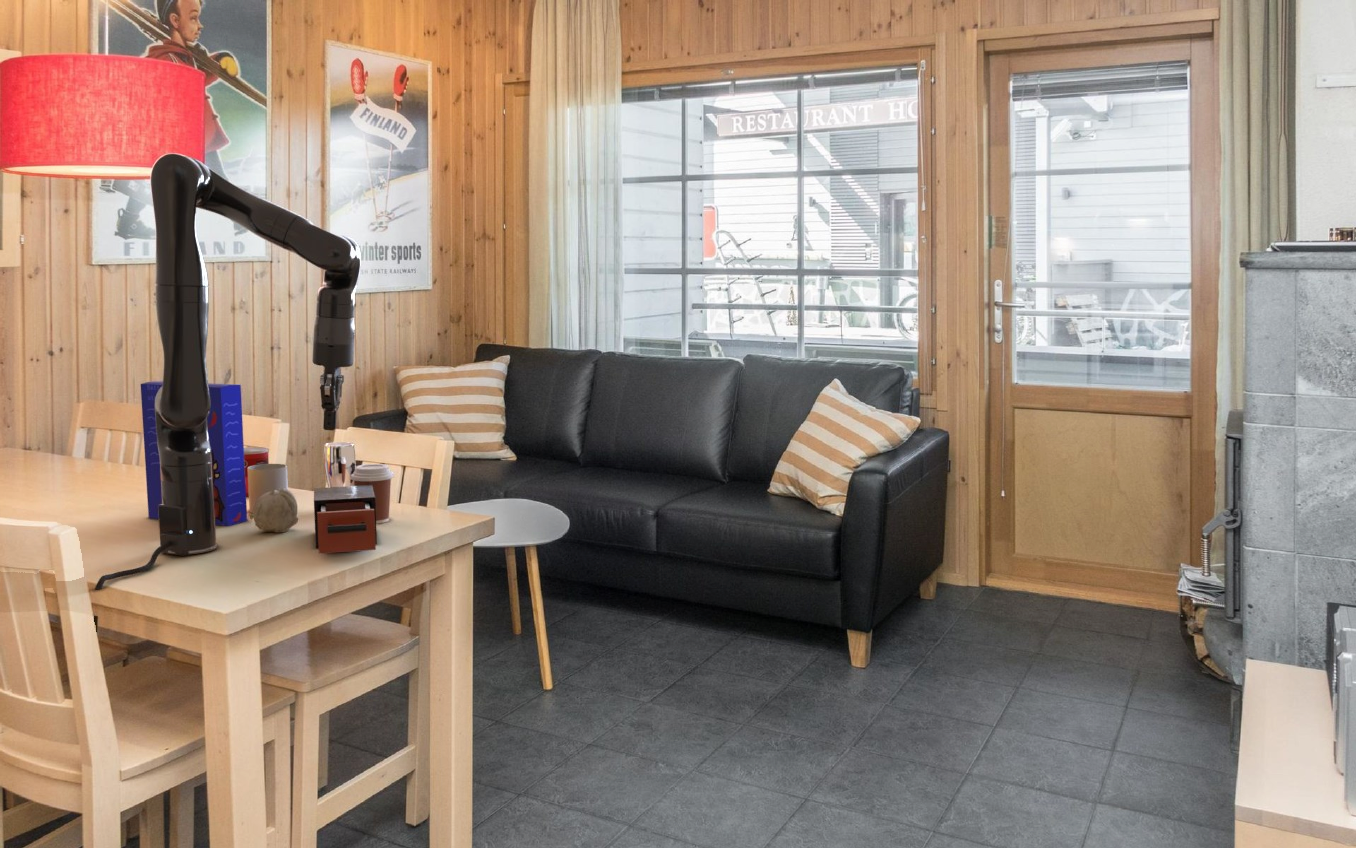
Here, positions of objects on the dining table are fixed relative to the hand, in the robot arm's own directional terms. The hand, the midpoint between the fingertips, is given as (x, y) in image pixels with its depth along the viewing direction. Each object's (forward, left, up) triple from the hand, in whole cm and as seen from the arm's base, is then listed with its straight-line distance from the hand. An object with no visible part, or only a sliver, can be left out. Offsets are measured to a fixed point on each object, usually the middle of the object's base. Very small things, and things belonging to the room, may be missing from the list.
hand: (329, 429), depth 219 cm
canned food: (+35, +56, -24) cm, 71 cm away
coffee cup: (+23, +9, -24) cm, 34 cm away
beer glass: (+30, +24, -24) cm, 45 cm away
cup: (+22, +38, -24) cm, 50 cm away
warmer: (+7, +3, -24) cm, 25 cm away
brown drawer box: (-1, -4, -23) cm, 23 cm away
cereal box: (+8, +45, -24) cm, 52 cm away
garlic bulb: (+6, +21, -24) cm, 33 cm away
